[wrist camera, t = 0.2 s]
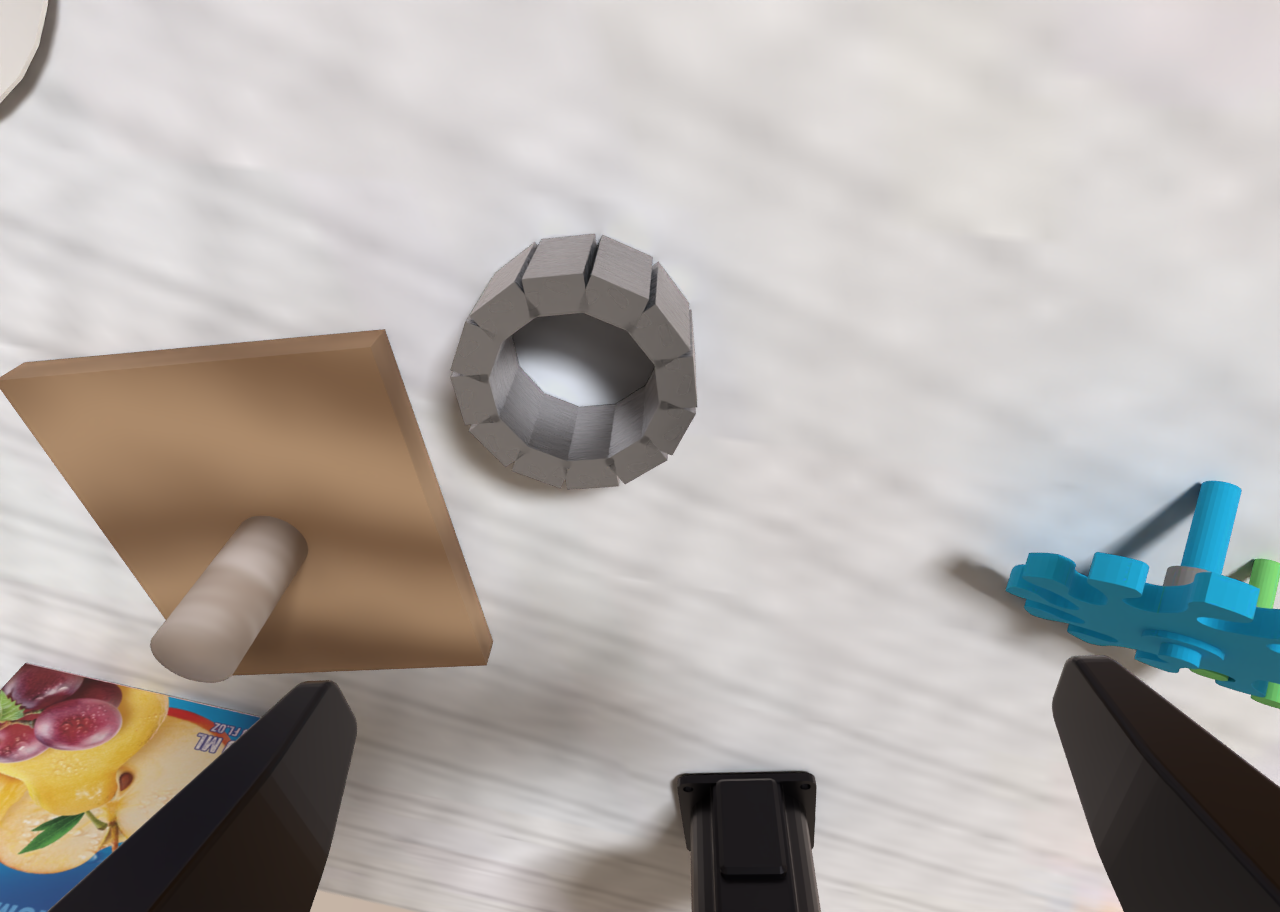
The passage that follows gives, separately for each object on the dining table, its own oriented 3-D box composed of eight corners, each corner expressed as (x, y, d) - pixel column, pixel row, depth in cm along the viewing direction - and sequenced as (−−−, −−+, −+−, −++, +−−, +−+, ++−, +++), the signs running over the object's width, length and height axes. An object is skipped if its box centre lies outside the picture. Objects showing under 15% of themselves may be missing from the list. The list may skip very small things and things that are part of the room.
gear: (941, 572, 24) (1348, 647, 15) (994, 417, 25) (1398, 404, 16) (1099, 678, 29) (1474, 780, 20) (1136, 544, 30) (1504, 586, 21)
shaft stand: (493, 641, 29) (453, 784, 24) (221, 653, 30) (130, 792, 25) (384, 329, 21) (292, 444, 16) (24, 362, 22) (-168, 478, 17)
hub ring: (700, 424, 23) (702, 480, 20) (506, 438, 23) (486, 494, 21) (684, 224, 19) (685, 263, 17) (455, 248, 20) (423, 288, 17)
